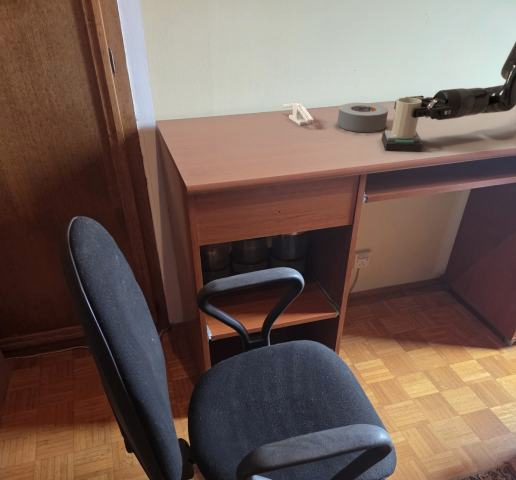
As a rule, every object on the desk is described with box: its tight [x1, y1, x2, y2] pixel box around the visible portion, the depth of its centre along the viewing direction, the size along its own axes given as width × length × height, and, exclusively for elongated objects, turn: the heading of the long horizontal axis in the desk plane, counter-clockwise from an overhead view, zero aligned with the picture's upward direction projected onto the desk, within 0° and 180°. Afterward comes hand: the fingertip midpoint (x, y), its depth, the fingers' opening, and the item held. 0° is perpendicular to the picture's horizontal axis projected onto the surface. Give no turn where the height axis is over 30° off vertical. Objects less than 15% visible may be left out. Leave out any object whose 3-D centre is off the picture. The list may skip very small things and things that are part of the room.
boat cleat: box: [282, 102, 315, 126], centre depth 148 cm, size 4×20×5 cm, turn 20°
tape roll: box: [337, 102, 389, 133], centre depth 144 cm, size 15×15×5 cm
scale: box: [381, 129, 424, 153], centre depth 129 cm, size 10×10×3 cm
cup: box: [391, 96, 422, 139], centre depth 126 cm, size 7×7×9 cm
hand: (403, 109), depth 123 cm, fingers open, 8 cm apart
